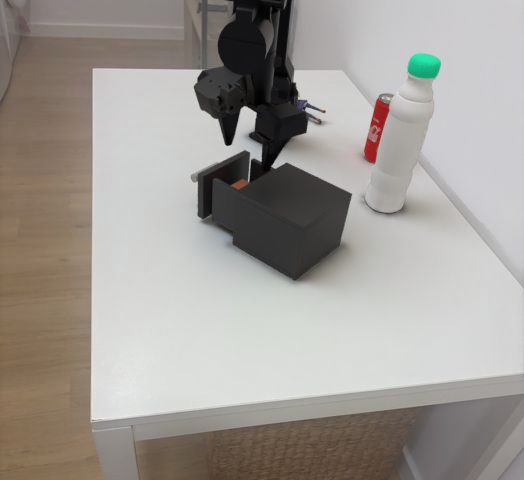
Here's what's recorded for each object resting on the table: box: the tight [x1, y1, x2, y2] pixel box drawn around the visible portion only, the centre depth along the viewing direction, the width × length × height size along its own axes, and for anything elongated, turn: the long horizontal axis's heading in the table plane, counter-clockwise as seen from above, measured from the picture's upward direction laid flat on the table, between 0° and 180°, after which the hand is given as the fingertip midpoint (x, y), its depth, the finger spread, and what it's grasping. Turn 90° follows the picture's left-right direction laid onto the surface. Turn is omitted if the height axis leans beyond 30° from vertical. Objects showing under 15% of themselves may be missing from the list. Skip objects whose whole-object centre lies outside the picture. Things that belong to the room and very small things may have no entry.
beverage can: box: [363, 92, 395, 164], centre depth 104 cm, size 5×5×12 cm
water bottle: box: [364, 52, 442, 214], centre depth 88 cm, size 7×7×25 cm
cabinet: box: [232, 162, 353, 281], centre depth 82 cm, size 13×13×10 cm
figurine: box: [297, 91, 327, 124], centre depth 118 cm, size 6×4×15 cm
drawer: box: [190, 149, 276, 232], centre depth 86 cm, size 16×11×8 cm
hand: (246, 157), depth 81 cm, fingers open, 9 cm apart
